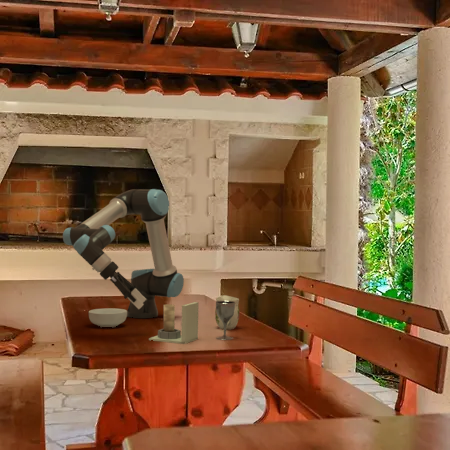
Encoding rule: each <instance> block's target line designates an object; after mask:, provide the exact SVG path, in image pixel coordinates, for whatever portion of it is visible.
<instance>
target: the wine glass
mask: <svg viewBox="0 0 450 450" xmlns="http://www.w3.org/2000/svg"><path fill="white" fill-rule="evenodd" d="M215 309H216V312H217V316H218V317H219V318H220V320H221V321H222V322H223V325H224V329H223V335H222V336H217V337H215V339H216V340H221V341H232V340H234V337H231V336H228V335H227V330H226V326H227V323H228V321H229V320H230V319H231V318H232V317H233V315H234V311H235V302H233V301H216V300H215Z"/></svg>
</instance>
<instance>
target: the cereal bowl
mask: <svg viewBox="0 0 450 450" xmlns="http://www.w3.org/2000/svg"><path fill="white" fill-rule="evenodd" d="M127 310H128V309H123V308H114V307H113V308H111V307H110V308H108V307H107V308H95V309H91V310H89V311H88V319H89V321H90V322H91V323H92V324H94V325H96V326H98V327H99V326H100V328H102V327H112V328H116V326H117V327H118V326H119V325H120V324H123V323H124V322H125V321H126V320H127V317H128V316H127Z"/></svg>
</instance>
